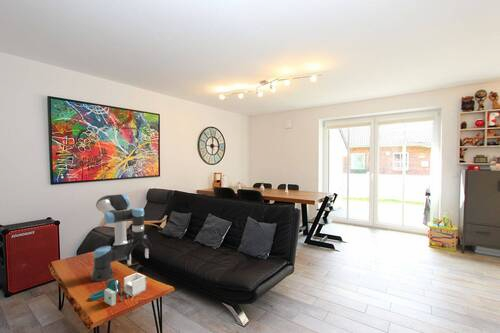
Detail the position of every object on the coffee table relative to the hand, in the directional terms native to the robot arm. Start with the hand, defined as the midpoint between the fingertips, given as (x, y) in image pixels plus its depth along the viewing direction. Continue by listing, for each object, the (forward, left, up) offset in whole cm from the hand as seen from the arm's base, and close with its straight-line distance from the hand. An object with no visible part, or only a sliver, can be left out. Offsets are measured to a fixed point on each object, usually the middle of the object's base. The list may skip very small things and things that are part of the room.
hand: (138, 260), depth 171 cm
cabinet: (-4, 0, -23) cm, 23 cm away
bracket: (-18, -14, -23) cm, 32 cm away
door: (-4, -17, -23) cm, 29 cm away
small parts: (-6, -10, -23) cm, 25 cm away
